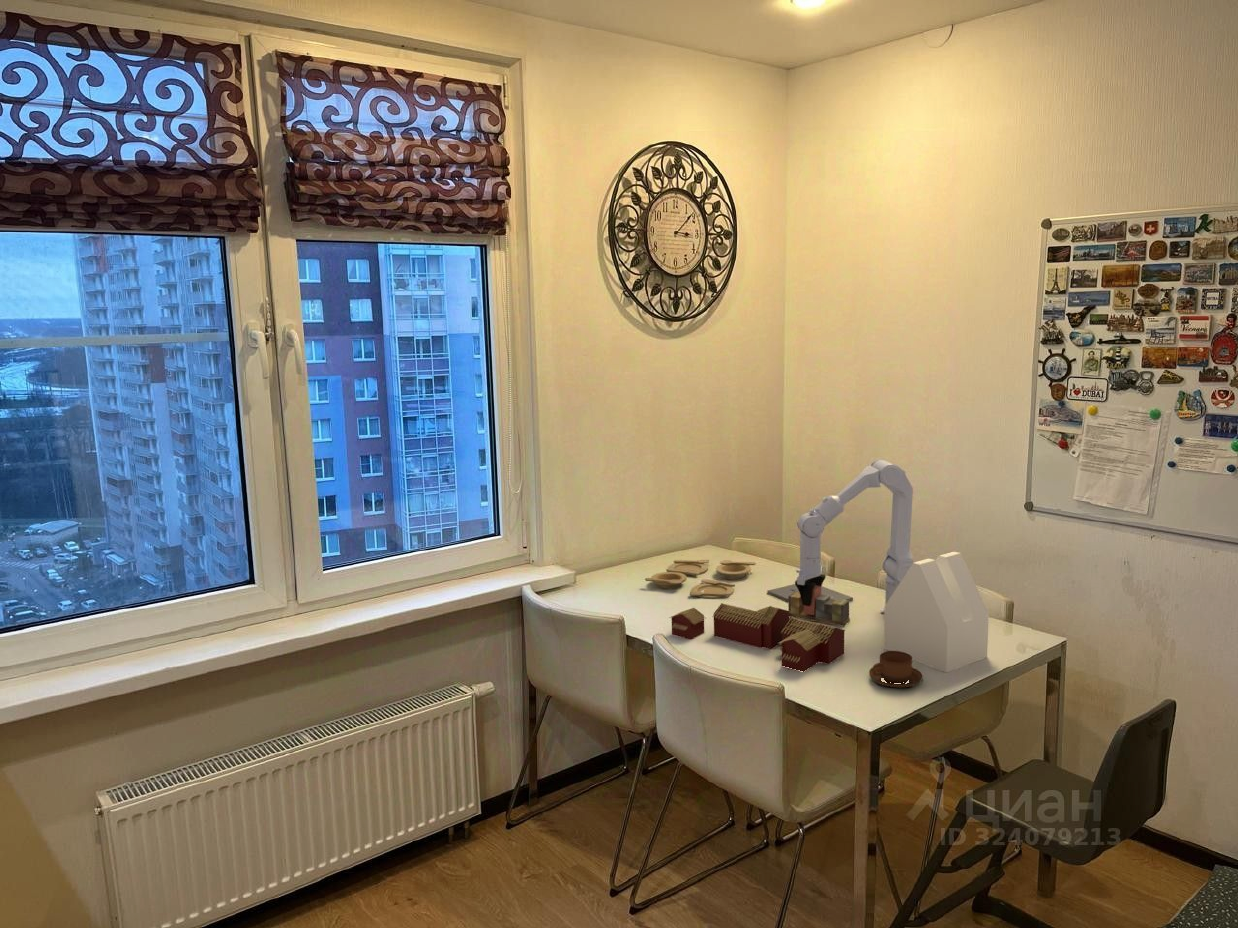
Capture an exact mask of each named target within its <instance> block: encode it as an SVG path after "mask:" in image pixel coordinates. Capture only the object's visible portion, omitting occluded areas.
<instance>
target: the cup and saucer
mask: <svg viewBox="0 0 1238 928" xmlns="http://www.w3.org/2000/svg"><path fill="white" fill-rule="evenodd" d="M868 674H869V677H870V678H871V679H872V680H873V681H874V682H876V683H878V684H879V685H881V686H885V687H889V688H899V689H900V688H901V689H902V688H910V687H914V686H916V685H918V684H919V683H920V682H921V681H923V674H922V672H921V671H919V669H917V668H916V667H915V668H914V667H913V659H912V656H911V655H909V654H907V653H905V652H900V651H890V650H886V651H883V652H881V653H880V654H879V662H877V663H875V664H874V665H873V666H872V667H871V668H870V669H869V671H868ZM881 678H884V680H885V681H886V682H887V683H885V682H882V681H881ZM908 680H909V683H907V684H905V683H906V682H907V681H908ZM890 682H891V683H890ZM903 682H904V683H903ZM894 683H901V684H894Z"/></svg>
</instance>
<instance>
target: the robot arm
mask: <svg viewBox="0 0 1238 928" xmlns="http://www.w3.org/2000/svg"><path fill="white" fill-rule="evenodd" d="M881 484H882V485H883V486H884V487H885V488H887V490H889V491H890V492H891V493H892V501H891V502H892V503H891V505H892V506H891V522H890V523H891V524H890V543H889V548H888V549H887V551H886V556H885V558H884V560H883V562H882V569H883V570H882V571H883V572H884V573H885V574H886V577H885V596H884V597H885V600H884V601H885V603H884V604H885V605H886V603H887V602H888V600H889V599H890V597H891V596H892V594H893V593H894V591H895V590H896V588H897V586H898V585H899V583H900V582H901V580H902V579H903V577H904V576H905V574H906V573H907V571H908V570H909V568H910V567H911V565H912V564H913V563H914V557H913V554H912V552H911V548H910V547H911V531H912V513H913V512H912V511H913V497H914V496H913V495H914V489H913V486H912V484H911V482H910V481H909V478H908V477H907V475H906V471H905V470H904V469H902V468H901V467H900V466H898V465H896V464H894V463H891V462H889V461H888V460H886V459H883V458H878V459H876V460H873V461H872V462H871V464H870V465H867V466H865V467H864V469H862V471H861V472H860V474H858V475H857V476H856V477H855V478H854V479H853V480H852V481H850V483H848V484H847V485H846V486H844V488H843V489H842V490H841V491H839V492H838V493H837V495H828V496H824V497H823V498H821V500H822V501H821V502H820V503H818V505H816V506H814V508H810V509H809V511H808V512H806V513H803V514H801V515H800V517H799V518H798V521H797V522H796V525H797V527H798V530H800V532H799V533H800V534H799V536H800V537H799V538H800V539H799V549H800V550H799V568H797V569H796V570H795V572H796V573H798V576H797V577H796V580H795V581H794V584H795V585H796V587H797V588H798V590H799V593H800V596H801V600H802V604H803V605H805V606H810V605H811V601H812V594H813V590H814V587H815V585H817V586H823V583H824V581H825V579H826V577H827V576H826V574H823V572H824V564H822V553H821V552H822V541H821V538H822V537H821V535H822V534H823V532H824V531H825V527H826V526H827V525H829V523H831V522H832V521H834V519H836V518H837V517H838V516H839V515H841V514H842V513H843V512H844V509H845V505H846V504H847V503H849V502H850V501H851V500H852V499H854V498H856V497H857V496H858V495H859V494H861V493H862V492H864V491H865V490H867V489H868V488H881V487H882V486H881ZM885 605H884V607H883V608H882V609H881V610H880V613H881V614H885Z"/></svg>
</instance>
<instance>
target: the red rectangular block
mask: <svg viewBox="0 0 1238 928" xmlns="http://www.w3.org/2000/svg"><path fill="white" fill-rule="evenodd" d="M820 595H821V586H817V585H815V587H814V590H813V594H812V601H811V605H810V606H805V605H804V613H806V614H811V615H815V614H816V598H818V597H819V596H820Z"/></svg>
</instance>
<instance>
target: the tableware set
mask: <svg viewBox="0 0 1238 928" xmlns="http://www.w3.org/2000/svg"><path fill="white" fill-rule="evenodd" d="M709 562H710V559H698V560H689V559H688V560H684V559H683V560H682V559H674V560H673V563H672V564H669V565H668V567H667V568H665V569H666V571H663V572H659V573H655V574H653V575H652V576H651V577H645V579H644V580H645V581H646V582H652V583H654V584H655V585H656V584H657V586H658V587H659V588H662V589H676V588H678V587H679V586H681V584H683V583H684V582H686V581H687V579H688V578H687V576H699V575H701V574H703V573H706V572H707V571H708V570H709V569H708V568H709V567H708V565H707V564H709ZM756 564H757V563H756V562H755V561H734V560H733V561H731V560H721V561H719V565H717V566H716V568H715V571H716V572H717V573H719V574H721V575H722V577H723V578H725V579H727V580H741V579H743V578H744V577H745V576H746V574H748V573H750V572H751V571H752V567H751V566H756ZM735 587H736V584H735V583H733V582H732V583H731V582H726V581H720V580H715V579H714V580H712V579H705V578H702V579H701V583H700V584H697V585H694V586H693V587H691V589H690V591H689V596H692V597H699V598H703V599H721V598H725V597H729V596H731V595H732V594H734V588H735Z"/></svg>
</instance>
